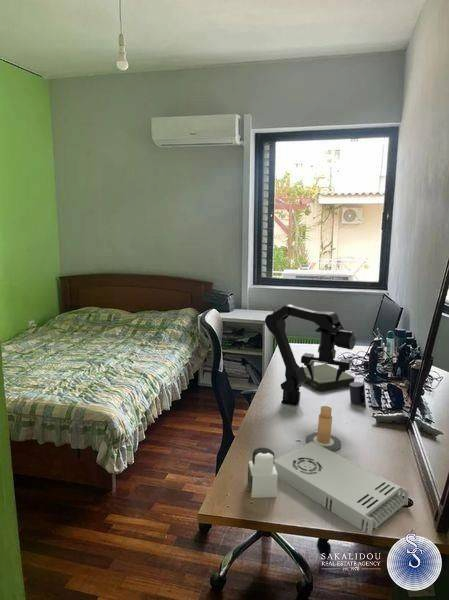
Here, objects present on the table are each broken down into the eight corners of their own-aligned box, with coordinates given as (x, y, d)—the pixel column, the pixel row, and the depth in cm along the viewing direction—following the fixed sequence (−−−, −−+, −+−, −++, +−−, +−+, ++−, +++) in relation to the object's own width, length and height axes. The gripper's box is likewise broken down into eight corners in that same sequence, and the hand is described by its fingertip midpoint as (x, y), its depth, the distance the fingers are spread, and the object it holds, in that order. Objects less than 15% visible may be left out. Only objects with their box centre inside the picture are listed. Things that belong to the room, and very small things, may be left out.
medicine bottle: (247, 482, 123) (249, 444, 121) (271, 482, 124) (273, 444, 122) (250, 498, 116) (252, 458, 114) (276, 498, 117) (279, 458, 115)
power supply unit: (370, 538, 104) (372, 520, 103) (271, 475, 128) (272, 460, 127) (407, 507, 116) (409, 490, 115) (310, 455, 140) (311, 441, 139)
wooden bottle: (315, 442, 146) (318, 409, 144) (318, 436, 150) (320, 404, 148) (328, 445, 144) (331, 412, 142) (331, 439, 148) (334, 407, 146)
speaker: (370, 403, 181) (370, 380, 179) (365, 408, 177) (364, 384, 175) (353, 399, 186) (352, 377, 184) (348, 404, 181) (347, 381, 180)
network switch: (358, 385, 202) (359, 375, 201) (324, 395, 189) (325, 384, 188) (321, 370, 221) (322, 361, 220) (288, 378, 208) (288, 369, 207)
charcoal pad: (302, 446, 144) (302, 444, 144) (309, 431, 155) (310, 429, 155) (338, 455, 140) (338, 453, 140) (343, 438, 151) (343, 436, 150)
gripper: (354, 342, 169) (351, 379, 172) (308, 336, 177) (306, 371, 179) (350, 349, 159) (347, 389, 162) (301, 342, 167) (299, 380, 169)
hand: (324, 382), depth 168 cm, fingers open, 9 cm apart
